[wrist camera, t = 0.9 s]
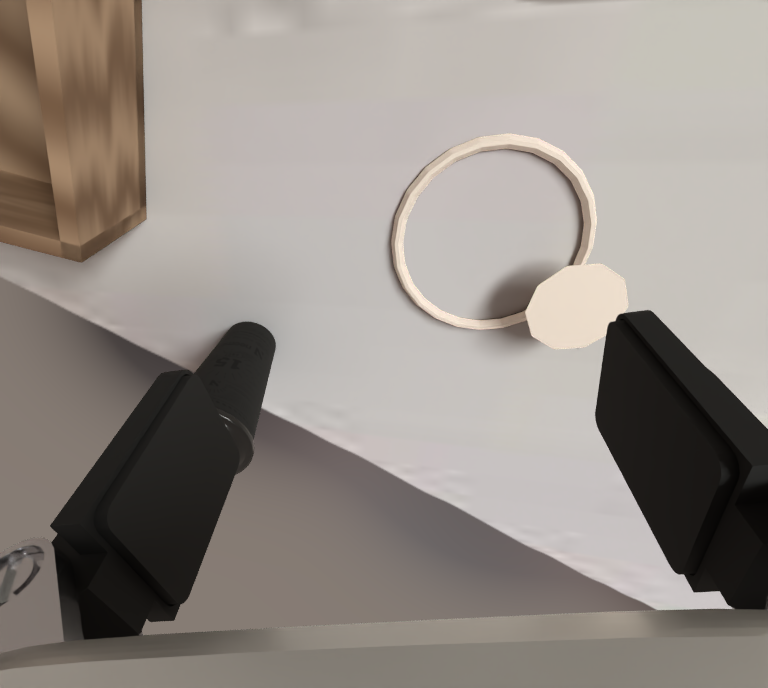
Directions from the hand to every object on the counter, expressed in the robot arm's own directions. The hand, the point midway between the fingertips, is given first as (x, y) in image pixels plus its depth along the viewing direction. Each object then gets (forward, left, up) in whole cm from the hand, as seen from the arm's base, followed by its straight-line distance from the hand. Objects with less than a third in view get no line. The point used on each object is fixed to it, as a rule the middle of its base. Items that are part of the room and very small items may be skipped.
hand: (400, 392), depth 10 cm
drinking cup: (+21, -9, -28) cm, 36 cm away
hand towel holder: (+5, +11, -28) cm, 31 cm away
